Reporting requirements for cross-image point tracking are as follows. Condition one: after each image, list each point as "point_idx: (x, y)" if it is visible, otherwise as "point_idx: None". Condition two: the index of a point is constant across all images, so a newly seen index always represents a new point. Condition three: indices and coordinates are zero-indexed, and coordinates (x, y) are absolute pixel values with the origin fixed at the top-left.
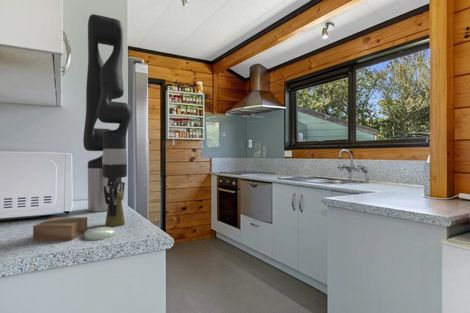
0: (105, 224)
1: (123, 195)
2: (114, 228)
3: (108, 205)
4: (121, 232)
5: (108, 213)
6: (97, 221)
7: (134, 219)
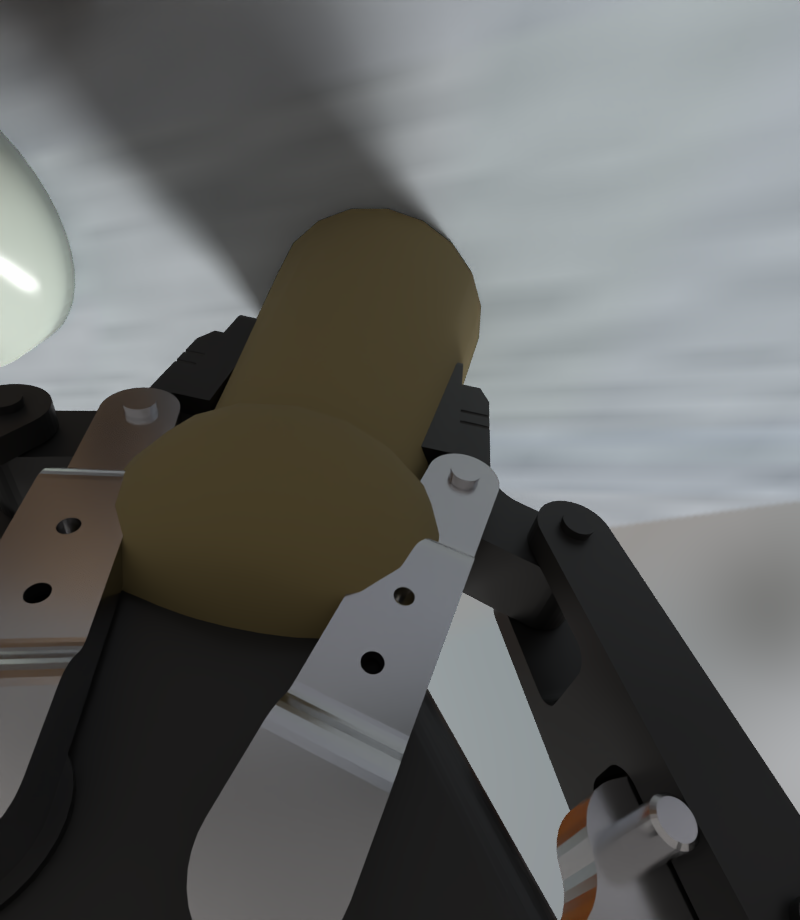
0: (340, 216)
1: (562, 651)
2: (5, 364)
3: (244, 372)
4: (83, 391)
5: (260, 316)
6: (651, 25)
7: (554, 479)
